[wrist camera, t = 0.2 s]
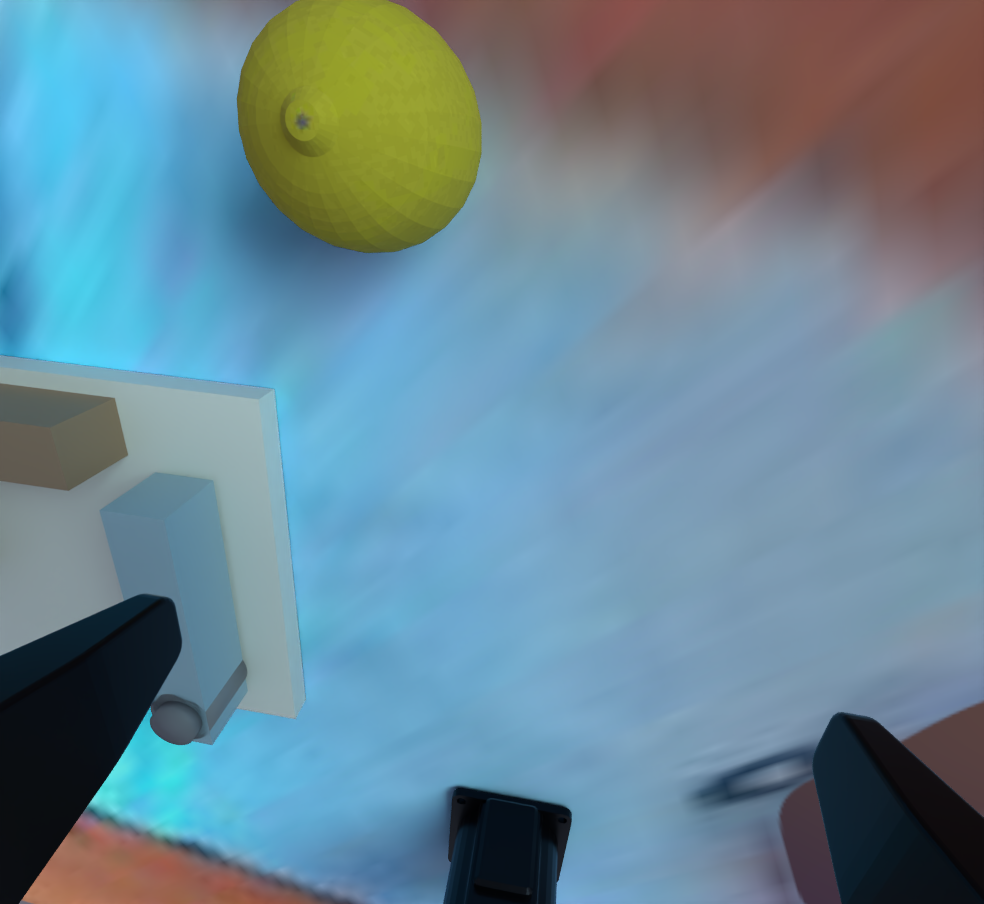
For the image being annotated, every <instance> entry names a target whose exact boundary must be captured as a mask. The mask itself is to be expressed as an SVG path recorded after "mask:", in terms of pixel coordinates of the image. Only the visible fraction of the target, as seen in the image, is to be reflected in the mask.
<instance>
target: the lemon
mask: <svg viewBox="0 0 984 904" xmlns="http://www.w3.org/2000/svg"><path fill="white" fill-rule="evenodd" d="M237 108H238V124H239V132H240V136H241V139H242V143H243V147H244V151H245V155H246V158H247V160H248V162H249V164H250V167H251V169H252V171H253V173H254V175H255V177H256V179H257V181H258V183H259V185H260V186H261V187H262V189H263V190H264V191H265V193H266V194H267V195H268V196H269V198H270V199H271V200H272V202H273V203H274V204H275V205H276V207H277V208H278V209H279V210H280V211H281V212H282V213H283V214H284V215H286V216H287V217H288V218H289V219H290V220H291V221H293V222H294V223H295V224H296V225H297V226H298V227H300V228H301V229H302V230H304V231H305V232H307V233H309V234H311V235H313V236H315V237H317V238H319V239H321V240H323V241H325V242H327V243H329V244H331V245H333V246H337V247H341V248H346V249H350V250H355V251H359V252H364V253H377V252H395V251H400V250H403V249H406V248H408V247H411V246H414V245H417V244H420V243H423V242H425V241H426V240H428V239H429V238H430V237H432V236H433V235H435V234H436V233H438V232H439V231H440V230H442V229H443V228H445V227H446V226H447V225H448V223H449V222H450V221H451V220H452V219H453V218H454V216H455V215H456V214H457V213H458V212H459V210H460V209H461V208H462V207H463V206H464V204H465V201H466V199H467V197H468V195H469V193H470V191H471V189H472V187H473V185H474V183H475V180H476V176H477V171H478V167H479V162H480V158H481V119H480V114H479V110H478V105H477V101H476V96H475V92H474V89H473V87H472V85H471V83H470V81H469V79H468V77H467V75H466V73H465V70H464V68H463V66H462V64H461V62H460V60H459V59H458V57H457V56H456V55H455V54H454V52H453V51H452V50H451V49H450V47H449V46H448V45H447V44H446V42H445V41H444V40H443V39H442V37H441V36H440V35H439V34H438V32H437V31H436V30H435V29H433V28H432V27H431V26H429V25H428V24H427V23H425V22H424V21H423V20H421V19H420V18H419V17H417V16H416V15H415V14H413V13H412V12H411V11H409V10H408V9H407V8H405V7H403V6H401V5H398V4H395V3H392V2H390V1H387V0H299V1H296V2H295V3H293V4H292V5H290V6H289V7H288V8H286V9H285V10H283V11H282V12H281V13H279V14H278V15H276V16H275V17H274V18H272V19H271V20H270V21H269V22H268V23H267V24H266V26H265V27H264V28H263V30H262V31H261V32H260V34H259V35H258V36H257V38H256V39H255V40H254V42H253V43H252V45H251V48H250V50H249V53H248V55H247V57H246V60H245V62H244V65H243V67H242V70H241V76H240V82H239V89H238V96H237Z"/></svg>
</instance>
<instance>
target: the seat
mask: <svg viewBox="0 0 984 904" xmlns="http://www.w3.org/2000/svg"><path fill="white" fill-rule="evenodd" d="M155 472H158V473H165V474H172V475H179V476H186V477H193V478H200V479H207V480H213V482H214V488H215V494H216V500H217V506H218V512H219V519H220V525H221V531H222V537H223V543H224V549H225V555H226V561H227V567H228V573H229V580H230V586H231V592H232V598H233V604H234V610H235V616H236V622H237V628H238V635H239V641H240V647H241V653H242V659H243V661H244V663H245V665H246V667H247V677H246V683H247V689H248V692H247V693H246V695H245V696H244V698H243V699H242V701H241V702H240V704H239V705H238V707H237V709H243V710H248V711H254V712H259V713H265V714H270V715H276V716H281V717H287V718H292V719H296V717H297V715H298V713H299V711H300V710H301V708H302V706H303V704H304V702H305V700H306V697H305V687H304V678H303V668H302V658H301V648H300V638H299V628H298V618H297V608H296V598H295V589H294V579H293V569H292V559H291V549H290V539H289V529H288V519H287V509H286V500H285V490H284V480H283V470H282V460H281V450H280V440H279V430H278V420H277V411H276V401H275V391H274V389H270V388H262V387H254V386H246V385H238V384H229V383H221V382H213V381H205V380H197V379H189V378H181V377H173V376H165V375H156V374H148V373H140V372H132V371H124V370H116V369H108V368H100V367H92V366H83V365H75V364H67V363H59V362H51V361H43V360H35V359H27V358H18V357H10V356H2V355H0V656H1V655H3V654H5V653H7V652H10V651H12V650H14V649H16V648H19V647H21V646H23V645H25V644H28V643H30V642H32V641H34V640H37V639H39V638H41V637H44V636H46V635H48V634H50V633H53V632H55V631H57V630H59V629H62V628H64V627H66V626H68V625H71V624H73V623H75V622H77V621H80V620H82V619H84V618H86V617H89V616H91V615H93V614H95V613H98V612H100V611H102V610H104V609H107V608H109V607H111V606H113V605H116V604H118V603H120V602H122V601H124V599H123V595H122V592H121V588H120V584H119V581H118V577H117V573H116V570H115V566H114V562H113V559H112V555H111V551H110V548H109V544H108V540H107V537H106V533H105V529H104V526H103V522H102V518H101V515H100V511H99V510H101V509H102V508H104V507H105V506H106V505H108V504H109V503H111V502H112V501H114V500H115V499H117V498H118V497H120V496H121V495H123V494H124V493H126V492H127V491H129V490H130V489H132V488H133V487H135V486H136V485H137V484H139V483H140V482H142V481H143V480H145V479H146V478H148V477H149V476H151V475H152V474H154V473H155Z"/></svg>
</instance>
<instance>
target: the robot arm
mask: <svg viewBox="0 0 984 904" xmlns="http://www.w3.org/2000/svg"><path fill="white" fill-rule="evenodd" d="M181 648H182V635H181V631H180V626H179V621H178V616H177V611H176V606H175V603H174V602H173V600H172V599H171V598H169V597H166V596H160V595H154V594H148V593H143V594H139V595H136V596H134V597H131V598H129V599H127V600H125V601H122V602H120V603H118V604H116V605H113V606H111V607H109V608H107V609H104V610H102V611H100V612H98V613H95V614H93V615H91V616H89V617H86V618H84V619H82V620H80V621H77V622H75V623H73V624H71V625H68V626H66V627H64V628H62V629H59V630H57V631H55V632H53V633H50V634H48V635H46V636H44V637H41V638H39V639H37V640H34V641H32V642H30V643H28V644H25V645H23V646H21V647H19V648H16V649H14V650H12V651H10V652H7V653H5V654H3V655H1V656H0V904H19V903H20V901H21V900H22V898H23V897H24V895H25V894H26V893H27V891H28V890H29V888H30V887H31V886H32V884H33V883H34V881H35V880H36V878H37V877H38V876H39V874H40V873H41V871H42V870H43V868H44V867H45V866H46V864H47V863H48V861H49V860H50V858H51V857H52V856H53V854H54V853H55V851H56V850H57V848H58V847H59V846H60V844H61V843H62V841H63V840H64V839H65V837H66V836H67V834H68V833H69V831H70V830H71V829H72V827H73V826H74V824H75V823H76V821H77V820H78V819H79V817H80V816H81V814H82V813H83V811H84V810H85V809H86V807H87V806H88V804H89V803H90V801H91V800H92V799H93V797H94V796H95V794H96V793H97V792H98V790H99V789H100V787H101V786H102V784H103V783H104V782H105V780H106V779H107V777H108V776H109V774H110V773H111V771H112V770H113V768H114V767H115V765H116V764H117V762H118V761H119V759H120V757H121V756H122V754H123V753H124V751H125V749H126V748H127V746H128V744H129V743H130V741H131V739H132V737H133V736H134V734H135V732H136V731H137V729H138V727H139V725H140V724H141V722H142V720H143V718H144V717H145V715H146V713H147V711H148V710H149V708H150V706H151V705H152V703H153V701H154V699H155V698H156V696H157V694H158V692H159V691H160V689H161V687H162V685H163V684H164V682H165V680H166V679H167V677H168V675H169V673H170V672H171V670H172V668H173V666H174V665H175V663H176V661H177V659H178V657H179V655H180V652H181ZM812 767H813V776H814V780H815V785H816V789H817V794H818V798H819V803H820V808H821V812H822V817H823V822H824V826H825V831H826V836H827V840H828V845H829V849H830V854H831V859H832V863H833V868H834V872H835V877H836V881H837V886H838V890H839V894H840V898H841V902H842V904H984V817H983V816H982V815H981V814H980V813H978V812H977V811H976V810H975V809H974V808H973V807H972V806H971V805H969V803H967V802H966V801H965V800H964V799H963V798H962V797H961V796H960V795H958V794H957V793H956V792H955V791H954V790H953V789H952V788H950V786H949V785H947V784H946V783H945V782H944V781H943V780H942V779H941V778H940V777H938V776H937V775H936V774H935V773H934V772H933V771H932V770H931V769H930V768H928V767H927V766H926V765H925V764H924V763H923V762H922V761H921V760H920V759H919V758H917V757H916V756H915V755H914V754H913V753H912V752H911V751H910V750H909V749H907V748H906V747H905V746H904V745H903V744H902V743H901V742H900V741H899V740H898V739H896V738H895V737H894V736H893V735H892V734H891V733H890V732H889V731H888V730H886V729H885V728H884V727H883V726H882V725H881V724H880V723H878V722H877V721H876V720H874V719H873V718H870V717H867V716H861V715H856V714H850V713H844V712H839V713H836V714H835V715H834V716H833V717H832V718H831V720H830V722H829V724H828V726H827V728H826V730H825V732H824V734H823V736H822V738H821V740H820V742H819V744H818V746H817V748H816V750H815V752H814V755H813V762H812ZM571 822H572V814H571V811H570V810H569V809H567V808H565V807H560V806H555V805H549V804H544V803H539V802H533V801H528V800H523V799H517V798H512V797H507V796H501V795H496V794H491V793H485V792H480V791H475V790H469V789H464V788H458V789H456V790H454V793H453V798H452V810H451V824H450V839H449V853H448V859H449V861H450V862H451V865H450V871H449V876H448V881H447V886H446V892H445V897H444V902H443V904H556V887H557V882H558V880H559V876H560V871H561V867H562V862H563V858H564V853H565V849H566V844H567V840H568V836H569V831H570V827H571Z"/></svg>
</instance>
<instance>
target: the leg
mask: <svg viewBox="0 0 984 904" xmlns="http://www.w3.org/2000/svg"><path fill="white" fill-rule="evenodd" d="M99 511H100V515H101V518H102V522H103V526H104V529H105V533H106V537H107V540H108V544H109V548H110V551H111V555H112V559H113V562H114V566H115V570H116V573H117V577H118V581H119V584H120V588H121V592H122V595H123V599H124V601H125V600H127V599H129V598H131V597H134V596H136V595H139V594H143V593H148V594H154V595H160V596H166V597H169V598H171V599H172V600H173V602H174V603H175V606H176V611H177V616H178V621H179V626H180V631H181V635H182V648H181V652H180V655H179V657H178V659H177V661H176V663H175V665H174V666H173V668H172V670H171V672H170V673H169V675H168V677H167V679H166V680H165V682H164V684H163V685H162V687H161V689H160V691H159V692H158V694H157V696H156V698H155V699H154V701H153V703H152V705H151V712H152V715H153V716H152V717H151V719H150V725H151V728H152V729H153V731H154V732H155V733H156V734H157V735H158V736H159V737H160V738H162V739H163V740H165V741H167V742H169V743H172V744H176V745H186V744H189V743H190V742H192V741H194V742H200V743H205V744H210V745H213V743H214V742H215V740H216V739H217V737H218V736H219V734H220V733H221V731H222V730H223V728H224V727H225V725H226V724H227V722H228V721H229V719H230V717H231V716H232V714H233V713H234V711H235V710H236V708H237V707H238V705H239V704H240V702H241V701H242V699H243V698H244V696H245V695H246V693H247V692H248V689H247V683H246V677H247V667H246V665H245V663H244V661H243V659H242V653H241V647H240V641H239V635H238V628H237V622H236V616H235V610H234V604H233V598H232V592H231V586H230V580H229V573H228V567H227V561H226V555H225V549H224V543H223V537H222V531H221V525H220V519H219V512H218V506H217V500H216V494H215V488H214V482H213V480H207V479H200V478H193V477H186V476H179V475H172V474H165V473H158V472H155V473H154V474H152V475H151V476H149V477H148V478H146V479H145V480H143V481H142V482H140V483H139V484H137V485H136V486H135V487H133V488H132V489H130V490H129V491H127V492H126V493H124V494H123V495H121V496H120V497H118V498H117V499H115V500H114V501H112V502H111V503H109V504H108V505H106V506H105V507H104V508H102V509H101V510H99Z"/></svg>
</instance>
